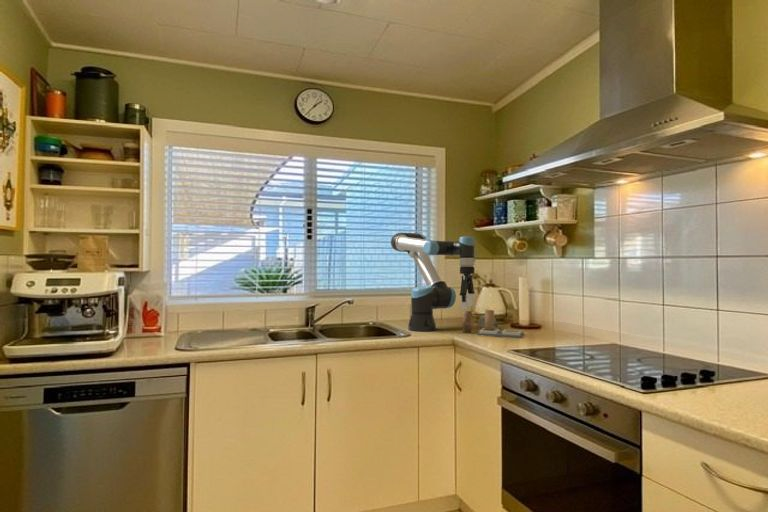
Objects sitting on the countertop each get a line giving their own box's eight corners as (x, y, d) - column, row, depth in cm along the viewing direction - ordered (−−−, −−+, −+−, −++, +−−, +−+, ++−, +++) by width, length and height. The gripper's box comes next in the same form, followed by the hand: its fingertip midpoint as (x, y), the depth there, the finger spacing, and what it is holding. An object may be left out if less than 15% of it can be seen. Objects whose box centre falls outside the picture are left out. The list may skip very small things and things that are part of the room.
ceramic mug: (476, 328, 241) (477, 314, 241) (483, 326, 248) (483, 313, 248) (494, 330, 235) (495, 316, 235) (501, 329, 241) (501, 315, 241)
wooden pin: (461, 332, 227) (461, 311, 227) (464, 331, 231) (463, 310, 231) (470, 333, 225) (470, 312, 225) (472, 332, 229) (472, 311, 229)
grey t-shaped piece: (477, 335, 220) (477, 311, 220) (482, 331, 230) (482, 308, 231) (520, 338, 211) (520, 313, 211) (523, 334, 222) (523, 310, 222)
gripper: (468, 266, 215) (469, 309, 215) (479, 266, 238) (479, 305, 237) (453, 266, 218) (454, 309, 218) (465, 266, 241) (466, 304, 241)
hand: (467, 307), depth 228 cm, fingers open, 13 cm apart
